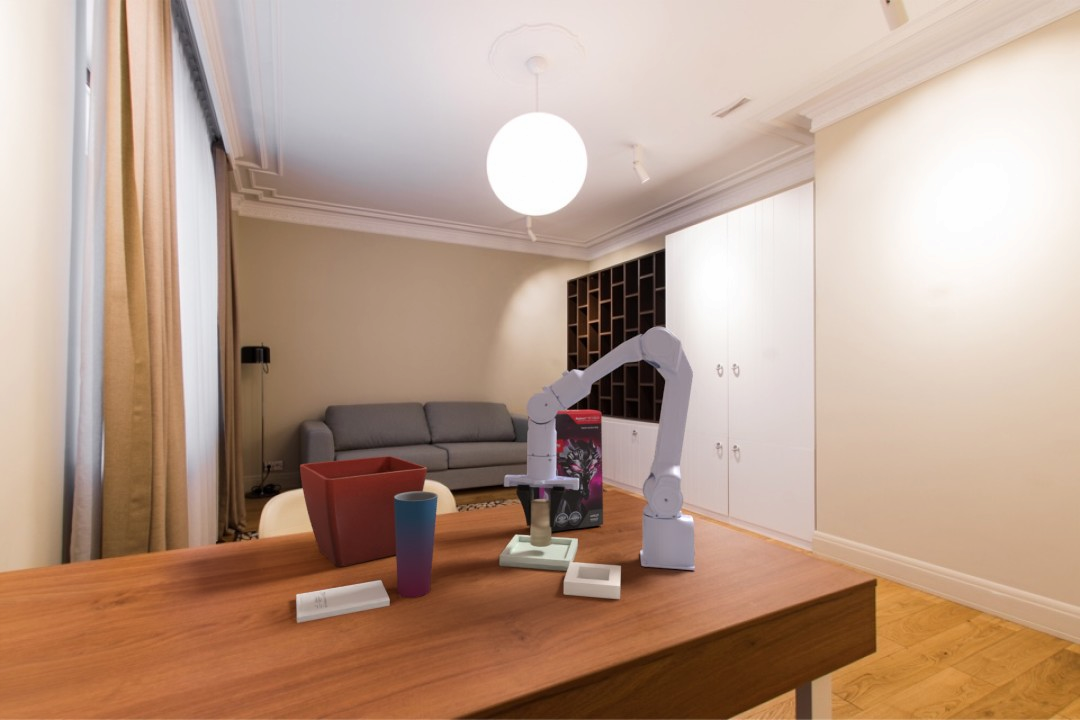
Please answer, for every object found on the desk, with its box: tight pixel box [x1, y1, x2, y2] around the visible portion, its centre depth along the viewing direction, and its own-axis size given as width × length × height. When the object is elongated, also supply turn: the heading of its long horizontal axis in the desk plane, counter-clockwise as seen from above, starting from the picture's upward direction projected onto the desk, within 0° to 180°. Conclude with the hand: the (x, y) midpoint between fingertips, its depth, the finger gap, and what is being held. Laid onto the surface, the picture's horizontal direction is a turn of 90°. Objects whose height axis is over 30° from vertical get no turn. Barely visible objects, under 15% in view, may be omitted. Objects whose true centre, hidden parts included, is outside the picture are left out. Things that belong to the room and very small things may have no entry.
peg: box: [530, 499, 552, 547], centre depth 95 cm, size 4×4×8 cm
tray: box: [498, 534, 579, 572], centre depth 95 cm, size 13×13×2 cm
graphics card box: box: [527, 409, 604, 533], centre depth 116 cm, size 17×7×27 cm, turn 115°
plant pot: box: [299, 455, 428, 568], centre depth 97 cm, size 19×19×17 cm
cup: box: [394, 490, 439, 599], centre depth 79 cm, size 7×7×15 cm
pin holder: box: [563, 561, 622, 600], centre depth 81 cm, size 9×9×2 cm
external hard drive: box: [295, 579, 391, 624], centre depth 74 cm, size 2×8×12 cm
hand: (541, 525), depth 95 cm, fingers closed on peg, 4 cm apart
